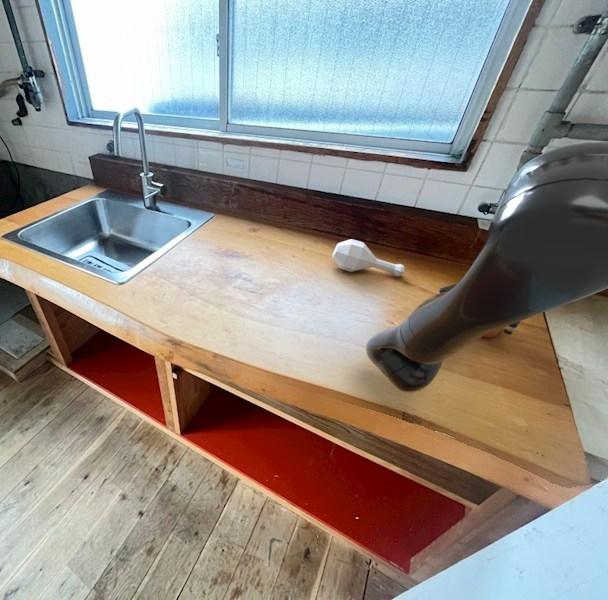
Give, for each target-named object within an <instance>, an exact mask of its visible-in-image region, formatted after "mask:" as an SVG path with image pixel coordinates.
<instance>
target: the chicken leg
mask: <svg viewBox="0 0 608 600" xmlns="http://www.w3.org/2000/svg"><path fill="white" fill-rule="evenodd" d="M331 257H332V258H331V259H332V260H333V262H334V264H336V266H337V267H338V268H339V269H340V270H343V271H347V272H350V273H352V272H357V271H362V270H366V269H370V268H374V269H378V270H381V271H384V272H386V273H387V272H388V273H391V275H393V276H394V277H398V278H399V277H401V276H403V275H405V274H406V268H405V265H404V264H401V263H396V264H395V263H392V262H388V261H385V260H382V259H379V258H377V257H376V256H375V255H374V253H373V252H372V251H371V250H370V248H369V247H368V246H367V245H366V244H365V242H363V241H360V240H358V239H357V240H356V239H353V238H351V239H346V240H344V241H340V242H338V243H337V244H336V246H335V248H334V250H333V253H332V256H331Z"/></svg>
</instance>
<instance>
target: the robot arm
mask: <svg viewBox="0 0 608 600" xmlns="http://www.w3.org/2000/svg"><path fill="white" fill-rule="evenodd" d="M607 289H608V141H589V142H581V143H576V144H575V143H574V144H568V145H564V146H561V147H557V148H554V149H551V150H549V151H546V152H543V153H541V154H539V155H538V156H536V157H534V158H532V159H530V160H529V161H528V162H526V163H525V164H523V166H521V167H520V168H519V169H518V170H517V171H516V173H515V174H514V175H513V176H512V178H511V180H510V181H509V183H508V185H507V187H506V189H505V191H504V193H503V195H502V197H501V200H500V201H499V204H498V206H497V208H496V210H495V213H494V215H493V217H492V219H491V221H490V224H489V227H488V229H487V238H486V241H485V242H484V244H483V246H482V248H481V250H480V251H479V253H478V255H477V257H476V258H475V259H474V260H473V263H471V265H470V267H469V268H468V270H467V271H466V273H465V274H464V276H462V278H461V279H460V280H459V281H458V282H457V283H454V284H452V285H451V284H450V285H447V286H443V287H441V288H439V290H438V292H437V294H435V295H432V296H430V297H428V298H427V299H426V300H424V301H423V302H422V303H421V304H419V305H418V306H417V307H416V308H415V309H414V310H413V311H412V312H411V313H410V314H409V315H408V316H407V317H406V318H405V319H404V320H403V321H402V322H401V323H399V324H398V325H394V326H391V327H387V328H385V329H383V330H381V331H379V332H376V333H375V334H374V335H372V336H371V337H370V338H369V339H368V341H367V343H366V345H365V354H366V356H367V358H368V359H369V361H371V362H372V363H373V365H374V366H375V367H376V368H377V369H378V370H379V371H380V373H382V374H383V376H385V378H386V379H387V380H388V382H390V383H391V384H392V385H393V386H394V387H395V388H396V389H397V390H399V391H401V392H404V393H417V392H420V391H422V390H424V389H426V387H428V386H429V385H430V384H431V383H432V382H433V381H434V380H435V378H436V377H437V375H438V373H439V372H440V369H441V366H442V364H443V362H444V360H446V359H448V358H449V357H451V356H453V355H454V354H456V353H458V352H459V351H461V350H462V349H463V348H465V347H467V346H468V345H470V344H471V343H473V342H475V341H477V340H478V339H481V338H482V337H483V336H484V335H486V334H488V333H491V332H493V331H496V330H498V329H501V328H502V329H503V330H502V329H501V330H502V331H503V333H504V334H506V335H508V336H511V335H512V334H513V333H514V331H515V330H516V329H517V328H518V326H519V325H520V323H521V321H524V320H527V319H529V318H532V317H535V316H538V315H540V314H542V313H545V312H549V311H551V310H554V309H557V308H559V307H562V306H565V305H568V304H571V303H573V302H577V301H579V300H582V299H585V298H587V297H590V296H592V295H595V294H597V293H600V292H602V291H604V290H607Z"/></svg>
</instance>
